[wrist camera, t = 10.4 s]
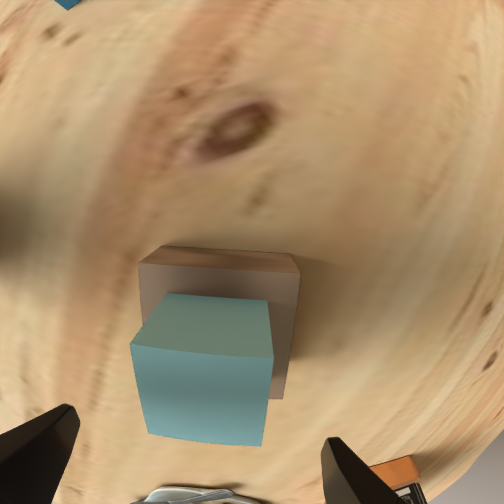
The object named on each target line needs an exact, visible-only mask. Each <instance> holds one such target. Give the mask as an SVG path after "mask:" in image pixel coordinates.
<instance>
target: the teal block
mask: <svg viewBox="0 0 504 504" xmlns="http://www.w3.org/2000/svg"><path fill="white" fill-rule="evenodd" d="M130 348H131V354H132V360H133V366H134V372H135V377H136V382H137V387H138V392H139V396H140V401H141V405H142V410H143V414H144V418H145V422H146V426H147V430H148V433H149V434H153V435H158V436H164V437H169V438H175V439H182V440H188V441H196V442H204V443H213V444H224V445H238V446H261V445H262V439H263V432H264V426H265V419H266V412H267V405H268V398H269V391H270V384H271V377H272V369H273V361H274V355H273V346H272V337H271V329H270V320H269V311H268V303H267V300H251V299H236V298H222V297H209V296H196V295H185V294H174V293H166V295H165V296H164V297H163V299H162V300H161V302H160V303H159V304H158V306H157V307H156V308H155V310H154V311H153V312H152V314H151V315H150V316H149V318H148V319H147V321H146V322H145V323H144V325H143V326H142V327H141V329H140V330H139V332H138V333H137V334H136V336H135V337H134V339H133V340H132V341H131V343H130Z"/></svg>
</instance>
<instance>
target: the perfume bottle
mask: <svg viewBox="0 0 504 504" xmlns="http://www.w3.org/2000/svg"><path fill="white" fill-rule="evenodd" d="M55 1H56V2H57V3H59V4H60V5H61V6H62V7H64V8H65V9H66V10H67V11H68V10H69V9H70V8H71V7H73V6H74V5H75V4H77V3H78V2H79V1H81V0H55Z"/></svg>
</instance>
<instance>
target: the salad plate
mask: <svg viewBox="0 0 504 504" xmlns="http://www.w3.org/2000/svg"><path fill="white" fill-rule="evenodd" d="M130 504H261V503H259V502H258V501H256V500H253V499H250V498H247V497H242V496H238V495H235V493H234V492H233V491H232V490H229V489H217V490H214V489H206V488H190V487H172V486H163V487H159V488H157V489H155V490H153V491H152V492H151V493H150V495H149V496H148V498H146V499H145V500H141V501H137V502H133V503H130Z"/></svg>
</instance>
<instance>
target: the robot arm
mask: <svg viewBox="0 0 504 504" xmlns="http://www.w3.org/2000/svg"><path fill="white" fill-rule="evenodd" d="M79 428H80V419H79V417H78V415H77V412H76V410H75V408H74V407H73V406H71V405H69V404H62V405H60V406H58V407H56V408H54V409H52V410H50V411H48V412H46V413H44V414H42V415H40V416H38V417H36V418H34V419H32V420H30V421H28V422H26V423H24V424H22V425H20V426H18V427H16V428H14V429H11V430H9V431H7V432H5V433H3V434H1V435H0V504H51V503H52V500H53V498H54V495H55V492H56V490H57V487H58V485H59V482H60V480H61V478H62V475H63V473H64V470H65V468H66V466H67V463H68V461H69V459H70V456H71V453H72V450H73V447H74V443H75V440H76V437H77V434H78V431H79ZM321 464H322V477H323V489H324V496H325V500H326V504H408V503H407V502H406V501H405V500H404V499H403V498H401V497H400V496H399V495H398V494H397V493H396V492H395V491H394V490H393V489H391V488H390V487H389V486H388V485H387V484H386V483H385V482H384V481H383V480H382V479H381V478H380V477H379V476H378V475H377V474H376V473H374V472H373V471H372V470H371V469H370V468H369V467H368V466H367V465H366V464H365V463H364V462H363V461H362V460H361V459H360V458H359V457H358V456H357V455H356V454H355V453H354V452H353V451H352V450H351V449H350V448H349V447H348V446H347V445H346V444H345V443H344V442H343V441H342V440H341V439H340V438H339V437H329V438H327V439H326V440H325V443H324V446H323V448H322V451H321Z"/></svg>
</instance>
